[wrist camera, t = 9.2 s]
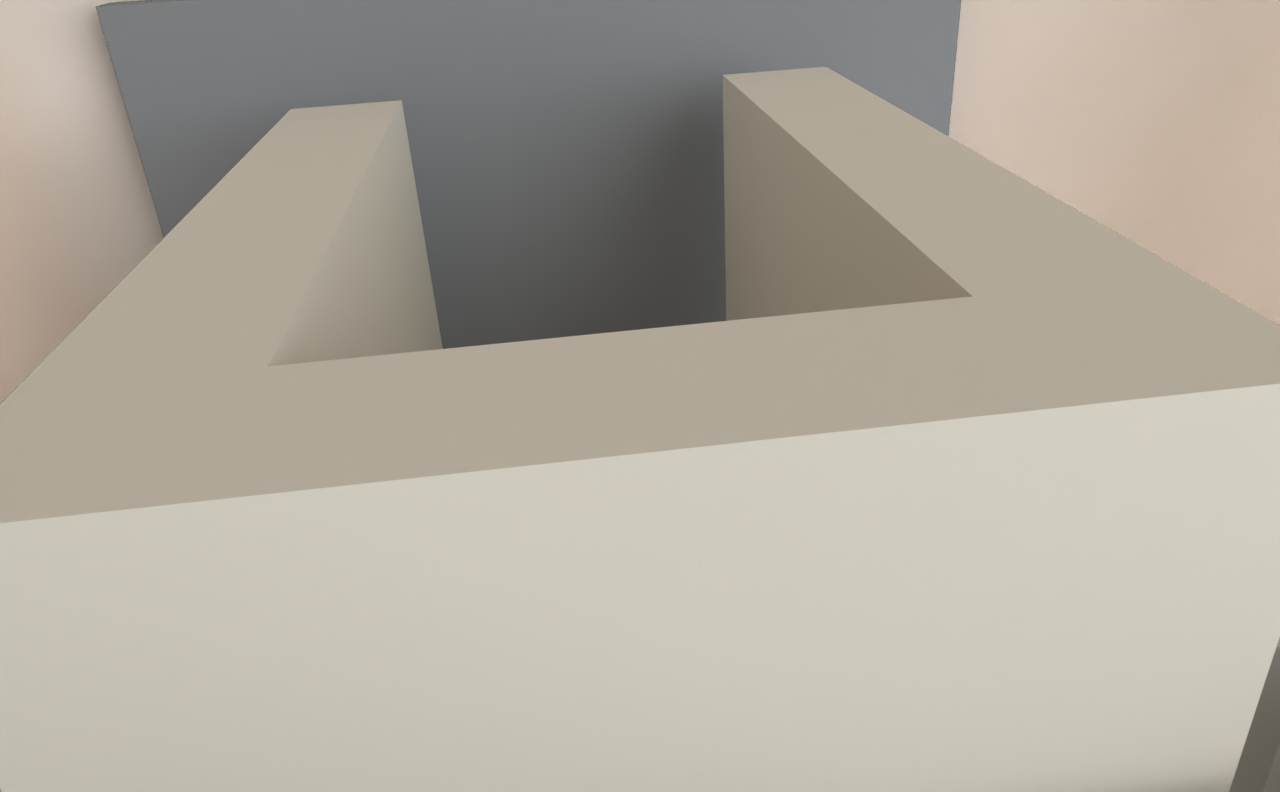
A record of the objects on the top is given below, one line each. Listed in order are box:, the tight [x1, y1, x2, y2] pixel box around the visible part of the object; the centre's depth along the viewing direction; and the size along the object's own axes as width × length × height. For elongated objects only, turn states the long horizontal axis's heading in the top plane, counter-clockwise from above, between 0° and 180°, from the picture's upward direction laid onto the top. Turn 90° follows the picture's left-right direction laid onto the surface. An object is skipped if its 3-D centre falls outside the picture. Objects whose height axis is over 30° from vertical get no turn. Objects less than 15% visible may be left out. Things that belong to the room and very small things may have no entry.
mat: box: [96, 0, 961, 349], centre depth 14 cm, size 10×10×1 cm
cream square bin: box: [0, 67, 1280, 792], centre depth 9 cm, size 6×8×8 cm
